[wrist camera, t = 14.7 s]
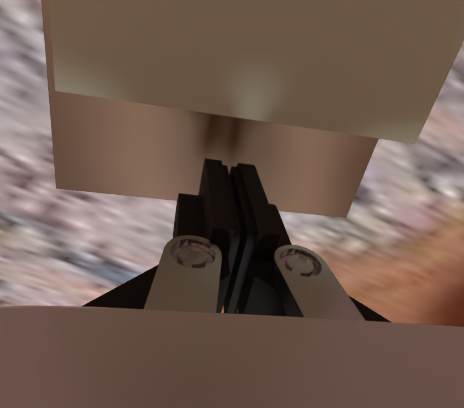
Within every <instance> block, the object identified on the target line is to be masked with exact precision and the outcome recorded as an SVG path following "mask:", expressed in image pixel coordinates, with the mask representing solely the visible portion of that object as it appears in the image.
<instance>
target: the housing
mask: <svg viewBox="0 0 464 408" xmlns="http://www.w3.org/2000/svg"><path fill="white" fill-rule="evenodd" d="M41 1H42V14H43V27H44V39H45V52H46V65H47V78H48V90H49V103H50V116H51V129H52V141H53V154H54V167H55V179H56V189H66V190H76V191H86V192H96V193H106V194H116V195H126V196H136V197H146V198H156V199H166V200H175V201H177V199H178V194H179V193H182V194H191V195H198V193H199V188H200V182H201V176H202V170H203V164H204V160H205V158H207V159H214V160H221V161H222V165H227V166H228V171H229V173H230V169H231V167H232V166H234V167H237V164H238V163H244V164H251V165H255V167H256V170H257V172H258V175H259V178H260V181H261V183H262V186H263V189H264V191H265V194H266V197H267V200H268V202H269V204H275V205H276V207H277V209H278V211H285V212H295V213H305V214H315V215H324V216H334V217H344V218H346V216H347V214H348V211H349V209H350V207H351V204H352V202H353V199H354V197H355V194H356V192H357V190H358V187H359V185H360V182H361V180H362V177H363V175H364V173H365V170H366V168H367V165H368V163H369V160H370V158H371V156H372V153H373V151H374V148H375V146H376V143H377V141H378V139H379V138H372V137H366V136H359V135H352V134H345V133H338V132H332V131H325V130H318V129H311V128H305V127H298V126H291V125H284V124H277V123H271V122H264V121H257V120H250V119H243V118H237V117H230V116H223V115H216V114H210V113H203V112H196V111H189V110H182V109H176V108H169V107H162V106H155V105H149V104H142V103H135V102H128V101H121V100H115V99H108V98H101V97H94V96H87V95H81V94H74V93H67V92H60V91H55V80H54V66H53V51H52V37H51V22H50V8H49V0H41Z"/></svg>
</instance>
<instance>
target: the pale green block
mask: <svg viewBox="0 0 464 408" xmlns="http://www.w3.org/2000/svg"><path fill="white" fill-rule="evenodd" d="M49 8H50V22H51V37H52V51H53V66H54V80H55V91H60V92H67V93H74V94H81V95H87V96H94V97H101V98H108V99H115V100H121V101H128V102H135V103H142V104H149V105H155V106H162V107H169V108H176V109H182V110H189V111H196V112H203V113H210V114H216V115H223V116H230V117H237V118H243V119H250V120H257V121H264V122H271V123H277V124H284V125H291V126H298V127H305V128H311V129H318V130H325V131H332V132H338V133H345V134H352V135H359V136H366V137H372V138H379V139H386V140H393V141H399V142H406V143H413V144H415V143H416V141H417V139H418V137H419V135H420V132H421V130H422V128H423V126H424V124H425V122H426V120H427V118H428V115H429V113H430V111H431V109H432V107H433V105H434V103H435V101H436V98H437V96H438V94H439V92H440V90H441V88H442V86H443V84H444V81H445V79H446V77H447V75H448V73H449V71H450V69H451V67H452V64H453V62H454V60H455V58H456V56H457V54H458V52H459V50H460V47H461V45H462V43H463V41H464V0H49Z"/></svg>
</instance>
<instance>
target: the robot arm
mask: <svg viewBox="0 0 464 408" xmlns="http://www.w3.org/2000/svg"><path fill="white" fill-rule="evenodd" d="M222 307H224V313H221V311H222ZM0 408H464V327H458V326H442V325H426V324H409V323H393V322H390V321H389V320H387V319H386V318H384V317H382V316H381V315H379V314H377V313H376V312H374V311H373V310H371V309H369V308H368V307H366V306H365V305H363V304H361V303H360V302H358V301H357V300H355V299H353V298H352V297H350V296H348V295H347V293H346V292H345V290H344V289H343V287H342V286H341V284H340V283H339V282H338V280H337V279H336V277H335V276H334V274H333V273H332V271H331V270H330V269H329V267H328V266H327V264H326V263H325V261H324V260H323V259H322V258H321V257H320V256H319V255H318V254H316V253H315V252H313V251H311V250H309V249H307V248H305V247H301V246H298V245H292V244H291V242H290V239H289V237H288V234H287V232H286V229H285V227H284V224H283V222H282V219H281V217H280V214H279V212H278V209H277V207H276V205H275V204H269V202H268V200H267V197H266V194H265V191H264V189H263V186H262V183H261V181H260V178H259V175H258V172H257V170H256V167H255V165H251V164H244V163H238V164H237V167H234V166H232V167H231V169H230V173H229V171H228V166H227V165H222V161H221V160H214V159H207V158H205V160H204V164H203V170H202V176H201V182H200V188H199V193H198V195H191V194H182V193H179V194H178V199H177V206H176V213H175V221H174V231H173V239H172V240H170V241H169V242H168V243H167V244H166V246H165V247H164V250H163V253H162V256H161V259H160V262H159V265H157V266H155V267H153V268H151V269H150V270H148V271H146V272H144V273H142V274H140V275H139V276H137V277H135V278H133V279H131V280H129V281H127V282H126V283H124V284H122V285H120V286H118V287H116V288H115V289H113V290H111V291H109V292H107V293H105V294H104V295H102V296H100V297H98V298H96V299H94V300H92V301H91V302H89V303H87V304H85V305H83V306H82V307H78V306H6V307H0Z"/></svg>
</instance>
